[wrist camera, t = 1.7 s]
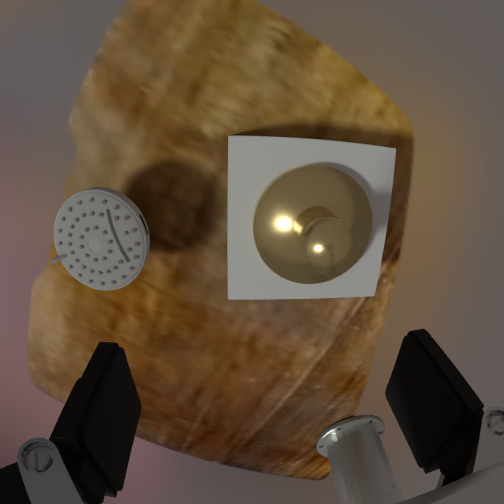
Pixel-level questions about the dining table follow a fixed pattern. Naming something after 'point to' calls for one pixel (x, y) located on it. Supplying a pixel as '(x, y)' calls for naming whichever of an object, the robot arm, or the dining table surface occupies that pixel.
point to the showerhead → (101, 238)
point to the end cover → (312, 224)
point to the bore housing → (271, 166)
